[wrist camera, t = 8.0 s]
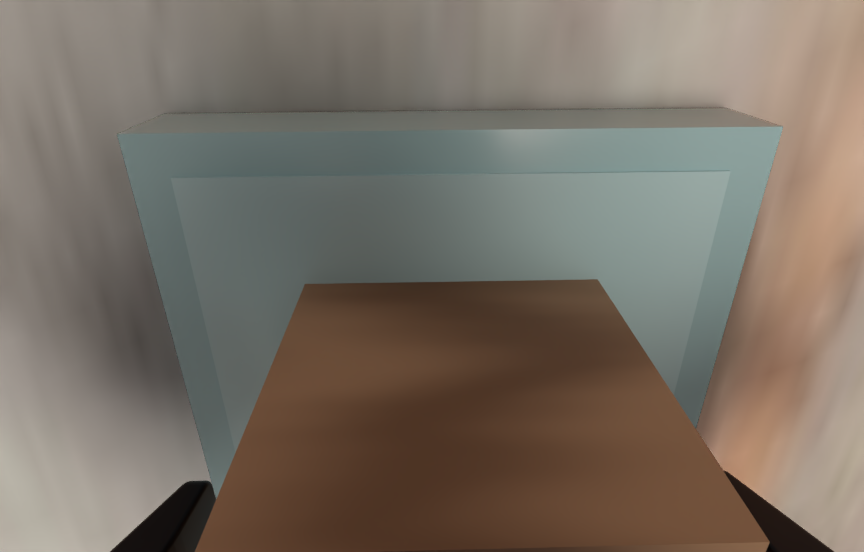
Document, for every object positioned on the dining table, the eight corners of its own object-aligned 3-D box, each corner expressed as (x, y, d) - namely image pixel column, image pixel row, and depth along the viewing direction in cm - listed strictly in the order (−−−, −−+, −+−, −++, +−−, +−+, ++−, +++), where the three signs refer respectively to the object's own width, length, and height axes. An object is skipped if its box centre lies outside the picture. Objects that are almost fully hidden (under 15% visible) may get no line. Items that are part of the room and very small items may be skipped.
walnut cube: (597, 278, 11) (769, 542, 6) (566, 486, 14) (661, 796, 8) (304, 283, 11) (192, 556, 5) (332, 491, 14) (275, 809, 8)
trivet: (726, 108, 11) (785, 127, 10) (633, 498, 17) (660, 558, 15) (164, 113, 11) (114, 134, 9) (254, 507, 17) (234, 569, 15)
